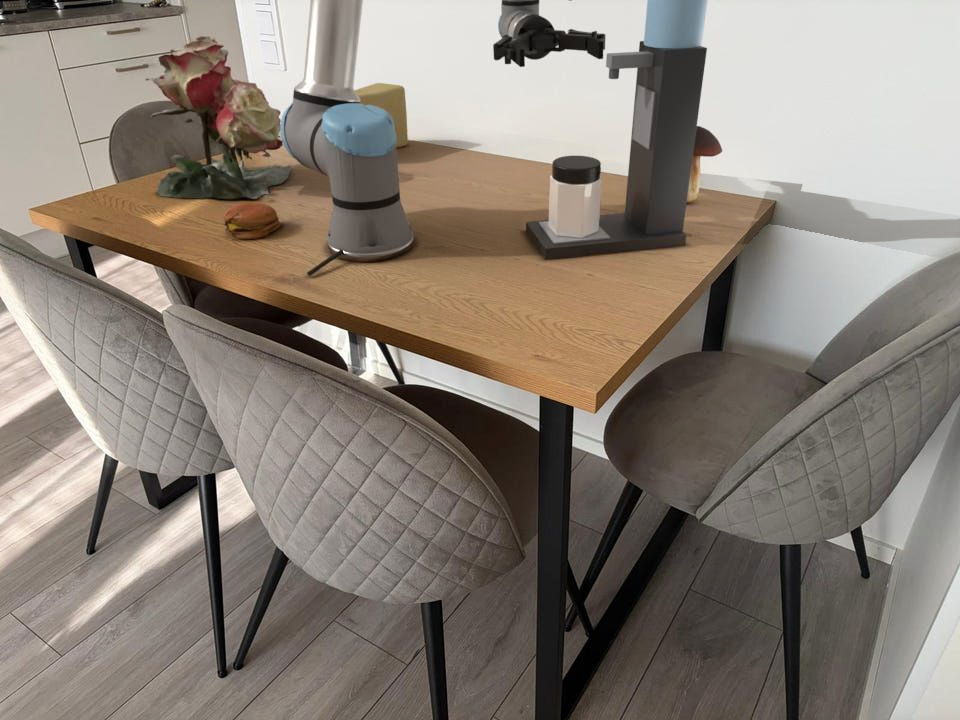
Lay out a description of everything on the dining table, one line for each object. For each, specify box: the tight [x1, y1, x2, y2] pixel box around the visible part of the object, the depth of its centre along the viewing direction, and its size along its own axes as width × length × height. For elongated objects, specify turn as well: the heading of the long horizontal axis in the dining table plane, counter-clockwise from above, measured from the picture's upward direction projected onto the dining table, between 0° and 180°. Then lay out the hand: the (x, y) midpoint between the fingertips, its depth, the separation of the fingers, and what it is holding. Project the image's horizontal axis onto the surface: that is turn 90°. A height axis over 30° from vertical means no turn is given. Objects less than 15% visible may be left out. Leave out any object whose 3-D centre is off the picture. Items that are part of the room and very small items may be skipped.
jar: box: [548, 155, 603, 238], centre depth 126 cm, size 9×8×12 cm
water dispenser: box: [525, 0, 708, 260], centre depth 120 cm, size 26×13×45 cm, turn 102°
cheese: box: [354, 82, 409, 148], centre depth 178 cm, size 22×10×15 cm, turn 146°
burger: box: [222, 201, 281, 240], centre depth 137 cm, size 10×9×5 cm
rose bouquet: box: [145, 35, 292, 200], centre depth 157 cm, size 26×29×30 cm
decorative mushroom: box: [687, 125, 723, 203], centre depth 143 cm, size 11×11×15 cm
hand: (562, 54), depth 122 cm, fingers open, 13 cm apart
